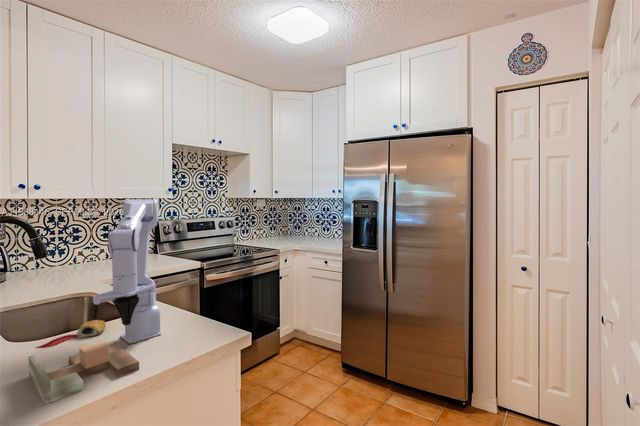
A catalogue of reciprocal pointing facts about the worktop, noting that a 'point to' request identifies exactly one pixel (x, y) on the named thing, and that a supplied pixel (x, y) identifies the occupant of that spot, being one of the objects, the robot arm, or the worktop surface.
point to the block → (94, 354)
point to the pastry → (91, 328)
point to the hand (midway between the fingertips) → (126, 324)
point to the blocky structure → (77, 373)
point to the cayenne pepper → (58, 341)
